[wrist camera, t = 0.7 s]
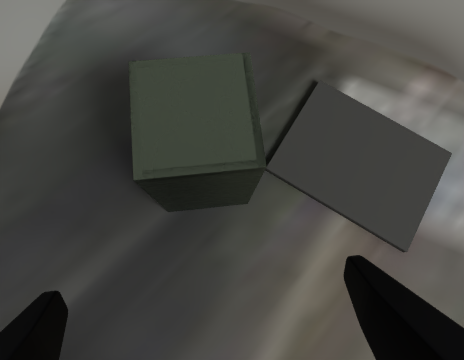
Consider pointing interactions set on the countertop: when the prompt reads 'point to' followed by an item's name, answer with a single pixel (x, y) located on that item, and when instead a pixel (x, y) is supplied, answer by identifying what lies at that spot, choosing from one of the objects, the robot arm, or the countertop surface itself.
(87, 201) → the countertop surface
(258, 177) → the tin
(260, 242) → the countertop surface
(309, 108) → the mat
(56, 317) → the robot arm
